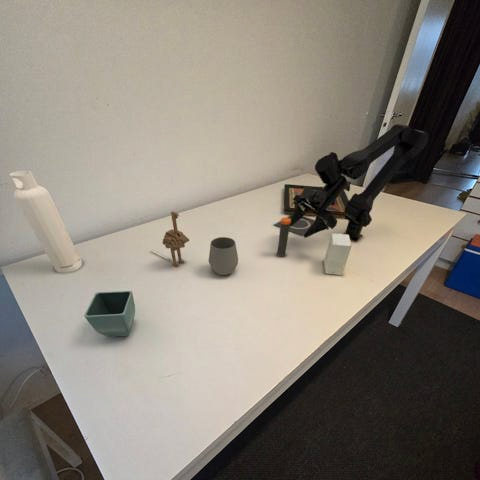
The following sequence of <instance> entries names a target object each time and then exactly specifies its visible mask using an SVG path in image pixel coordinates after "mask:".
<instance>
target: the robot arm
mask: <svg viewBox="0 0 480 480" xmlns="http://www.w3.org/2000/svg"><path fill="white" fill-rule="evenodd" d="M428 142H429V134H428V132H427V131H423V130H418V129H414V128H411V126H409V125H408V124H402V123H396V124H393V125H392V126H391V127H390V129H389V130H387V131H386V132H384V133H383V134H382V135H380V136H379V137H377V138H376V139H375V140H373V142H371V143H369V144H368V145H367V146H366V147H364V148H362V149H359V150H357V151H352V152H350V153H348V154H347V155H345V156H344V157H343V158H341V159H339V157H338V154H337V152H334V151H331V152H330V153H328V154H327V155H326V154H325V155H323V156H322V157H321V158H319V159H318V160H317V162H315V165H314V170H315V173H316V174H317V175H318V177H319V179H320V180H321V182H322V183H323V184H324V185H323V186H322V187H323V188H322V189H321V188H318V189H317V190H316V191H315V190H313V189H311V188H309V187H307V186H308V185H304V186H305V187H304V189H303V191H302V193H301V195H300V194H298V195H296V196H295V197H294V198H293V201H294V202H293V204H294V212H293V214H291V215H292V217H291V223H290V227H291V226H292V225H293V224H295V223H296V222H297V221H298V220H299V219H301V218H302V217H305V216H306V215H305V212H307V211H310V212H312V213H313V214H315V215H314V216H315V219H314V220H315V222H314V223H313V224H312V226H311V227H310V228H309V229H308V230H307V232H306V233H305V234H304V235H303V238H304V239H306V238H308V237H311V236H313V235H315V234H318V233H320V232H323V231H326V230H330V229H331V230H333V229H335V228H336V227H337V224H338V220H337V217H335V216H334V215H333V213H331V212H330V211H328V210H327V209H328V207H329V206H330V205H332V206H334V205H335V202H334V201H335V200H336V198H337V197H338V196H339V195H340V194H341V193H342V192H343V190H344V191H345V192H350V191H351V184H352V183H351V181H350V180H347V178H349V179H352V180H353V181H356V180H358V179H360V178H361V177H362V176H363V175H365V173H366V172H367V171H368V170H369V168H370V165H371V164H372V163H374V161H376V160H378V158H380V157H381V156H383V155H384V154H385V153H387V152H388V151H390V150H391V149H392V148H393V151H392V153H391V156H390V157H389V158H388V159H387V160H386V162H385V163H384V164H383V166H382V167H381V168H380V169H379V171H378V172H377V173H376V174H375V176H374V177H373V178H372V180H371V181H370V182H369V184H367V186H366V187H365V189H364V190H363V191H362V192H360V193H356V192H354V194H352V196H351V197H350V198H349V199H348V200H349V201H348V202H347V205H346V206H345V211H344V213H345V217H344V218H343V219H344V220H347V224H346V228H345V231H344V233H342V234H346V235H349V238H350V241H352V242H358V241H359V240H360V239H361V238H363V234H361V233H362V232H363V231H362V230H363V228H364V227H365V228H367V227H368V226H369V225H370V224H371V222H372V220H373V219H372V216H371V214H370V213H371V212H372V209H373V205H374V201H375V200H376V199H377V197H378V196H379V194H380V193H381V192H382V191H383V190H384V188H385V187H386V186H387V185H388V183H389V182H390V181H391V180H392V178H394V176H395V175H396V174H397V173H398V172H399V170H400V169H401V168H402V166H403V165H404V164H405V163H407V162H408V161H410V160H412V159H415V157H417V156H418V155H419V154H420V153H421V151H422V150H424V148H425V147H426V146H427V144H428ZM306 199H307V200H308V201H307V200H306ZM309 203H310V204H309ZM312 209H313V210H312ZM316 211H317V212H316ZM316 215H317V216H316Z"/></svg>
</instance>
